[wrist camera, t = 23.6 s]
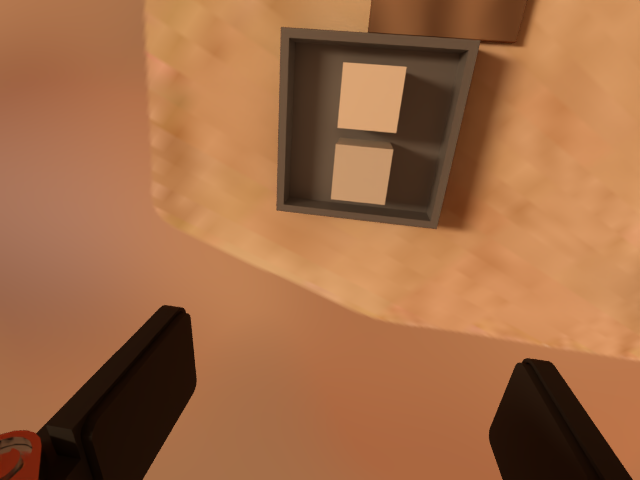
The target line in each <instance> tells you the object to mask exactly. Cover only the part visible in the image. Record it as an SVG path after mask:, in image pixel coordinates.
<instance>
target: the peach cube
mask: <svg viewBox="0 0 640 480" xmlns="http://www.w3.org/2000/svg"><path fill="white" fill-rule="evenodd" d="M406 68H407V67H403V66H389V65H375V64H361V63H347V62H343V71H342V82H341V93H340V104H339V116H338V127H337V128H345V129H356V130H367V131H378V132H390V133H396V131H397V125H398V119H399V112H400V106H401V100H402V93H403V87H404V81H405V74H406Z"/></svg>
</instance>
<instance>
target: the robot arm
mask: <svg viewBox="0 0 640 480" xmlns="http://www.w3.org/2000/svg"><path fill="white" fill-rule="evenodd" d="M195 387H196V369H195V359H194V349H193V338H192V328H191V318H190V315H189V314H187V313H186V312H185V309H184V308H180V307H174V306H167V305H164V306H162V307H161V308H159V309H158V311H156V312H155V314H153V316H152V317H151V318H150V319H149V320H148V321H147V322H146V323H145V324H144V325H143V326H142V327H141V328H140V329H139V330H138V331H137V332H136V333H135V334H134V335H133V336H132V337H131V338H130V339H129V340H128V341H127V342H126V343H125V344H124V345H123V346H122V347H121V348H120V349H119V350H118V351H117V352H116V353H115V354H114V355H113V356H112V357H111V358H110V359H109V360H108V361H107V362H106V363H105V364H104V365H103V366H102V367H101V368H100V369H99V370H98V371H97V372H96V373H95V374H94V375H93V376H92V377H91V378H90V379H89V380H88V381H87V382H86V383H85V384H84V385H83V386H82V387H81V388H80V389H79V390H78V391H77V392H76V394H75V395H74V396H73V397H72V398H71V399H70V400H69V401H68V402H67V403H66V404H65V405H64V406H63V407H62V408H61V409H60V410H59V411H58V412H57V413H56V414H55V415H54V416H53V417H52V418H51V419H50V420H49V421H48V422H47V423H46V424H45V425H44V426H43V427H42V428H41V429H40V430H39V431H38V432H37V433H34V432H30V431H27V430H19V431H12V432H8V433H4V434H1V435H0V480H143V478H144V476H145V474H146V473H147V471H148V469H149V468H150V466H151V464H152V463H153V461H154V459H155V457H156V455H157V454H158V452H159V451H160V449H161V447H162V446H163V444H164V442H165V440H166V439H167V437H168V435H169V434H170V432H171V430H172V428H173V427H174V425H175V423H176V422H177V420H178V418H179V416H180V415H181V413H182V411H183V410H184V408H185V406H186V405H187V403H188V401H189V399H190V398H191V396H192V394H193V392H194V390H195ZM489 440H490V444H491V447H492V450H493V453H494V456H495V459H496V462H497V464H498V467H499V470H500V473H501V476H502V479H503V480H633V479H632V478H631V477H630V475H629V474H628V472H627V471H626V469H625V468H624V466H623V465H622V463H621V462H620V461H619V459H618V458H617V456H616V455H615V453H614V452H613V450H612V449H611V447H610V446H609V445H608V443H607V442H606V440H605V439H604V437H603V436H602V434H601V433H600V431H599V430H598V428H597V427H596V426H595V424H594V423H593V421H592V420H591V418H590V417H589V416H588V414H587V412H586V411H585V410H584V408H583V407H582V405H581V404H580V402H579V401H578V399H577V398H576V396H575V395H574V394H573V392H572V391H571V389H570V388H569V386H568V385H567V383H566V382H565V380H564V379H563V378H562V376H561V375H560V373H559V372H558V370H557V369H556V367H555V366H554V365H553V364H552V363H551V362H549V361H543V360H536V359H529V358H527V359H524V360H523V362H522V363H517V364H516V366H515V368H514V370H513V373H512V375H511V378H510V380H509V383H508V385H507V388H506V390H505V393H504V395H503V398H502V400H501V403H500V405H499V407H498V410H497V412H496V415H495V417H494V420H493V422H492V424H491V427H490V430H489Z"/></svg>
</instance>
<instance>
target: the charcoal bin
mask: <svg viewBox="0 0 640 480" xmlns="http://www.w3.org/2000/svg"><path fill="white" fill-rule="evenodd" d="M480 41H481V40H469V39H454V38H438V37H423V36H408V35H393V34H378V33H363V32H348V31H333V30H318V29H303V28H287V27H281V47H280V88H279V129H278V169H277V211H286V212H294V213H303V214H311V215H320V216H329V217H337V218H346V219H354V220H363V221H372V222H380V223H389V224H397V225H406V226H415V227H423V228H432V229H437V226H438V221H439V217H440V213H441V208H442V204H443V200H444V195H445V191H446V187H447V183H448V178H449V174H450V170H451V165H452V161H453V157H454V153H455V148H456V144H457V140H458V135H459V131H460V127H461V122H462V118H463V114H464V110H465V105H466V101H467V97H468V92H469V88H470V84H471V80H472V75H473V71H474V67H475V62H476V58H477V54H478V49H479V45H480ZM343 62H347V63H361V64H375V65H389V66H403V67H407V68H406V74H405V81H404V87H403V93H402V100H401V106H400V112H399V119H398V125H397V131H396V133H390V132H378V131H367V130H356V129H345V128H337V127H338V116H339V104H340V93H341V82H342V71H343ZM340 138H350V139H361V140H372V141H382V142H390V143H391V145H392V148H393V155H392V162H391V168H390V174H389V181H388V187H387V193H386V200H385V205H380V204H371V203H362V202H352V201H343V200H334V199H331V191H332V180H333V169H334V158H335V147H336V143H337V142H338V140H339V139H340Z"/></svg>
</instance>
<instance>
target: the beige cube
mask: <svg viewBox="0 0 640 480" xmlns="http://www.w3.org/2000/svg"><path fill="white" fill-rule="evenodd" d="M392 155H393V148H392V145H391V143H390V142H382V141H372V140H361V139H350V138H340V139H339V140H338V142H337V143H336V147H335V158H334V169H333V180H332V191H331V199H334V200H343V201H352V202H362V203H371V204H380V205H385V200H386V193H387V187H388V181H389V174H390V168H391V162H392Z"/></svg>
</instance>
